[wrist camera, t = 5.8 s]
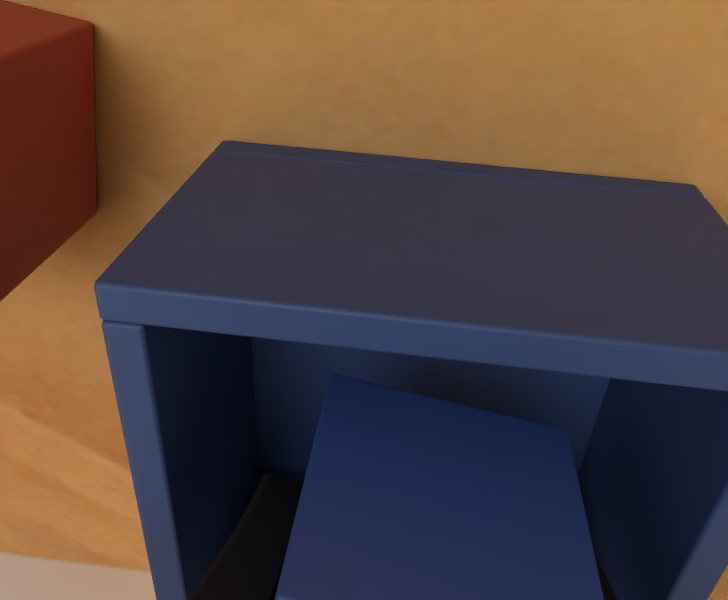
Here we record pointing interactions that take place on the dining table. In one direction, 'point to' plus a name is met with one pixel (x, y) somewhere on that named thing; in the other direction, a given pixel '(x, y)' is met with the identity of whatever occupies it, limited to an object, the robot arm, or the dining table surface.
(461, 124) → the dining table surface
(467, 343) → the blue bin
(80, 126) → the red block
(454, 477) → the blue block
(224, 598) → the robot arm
